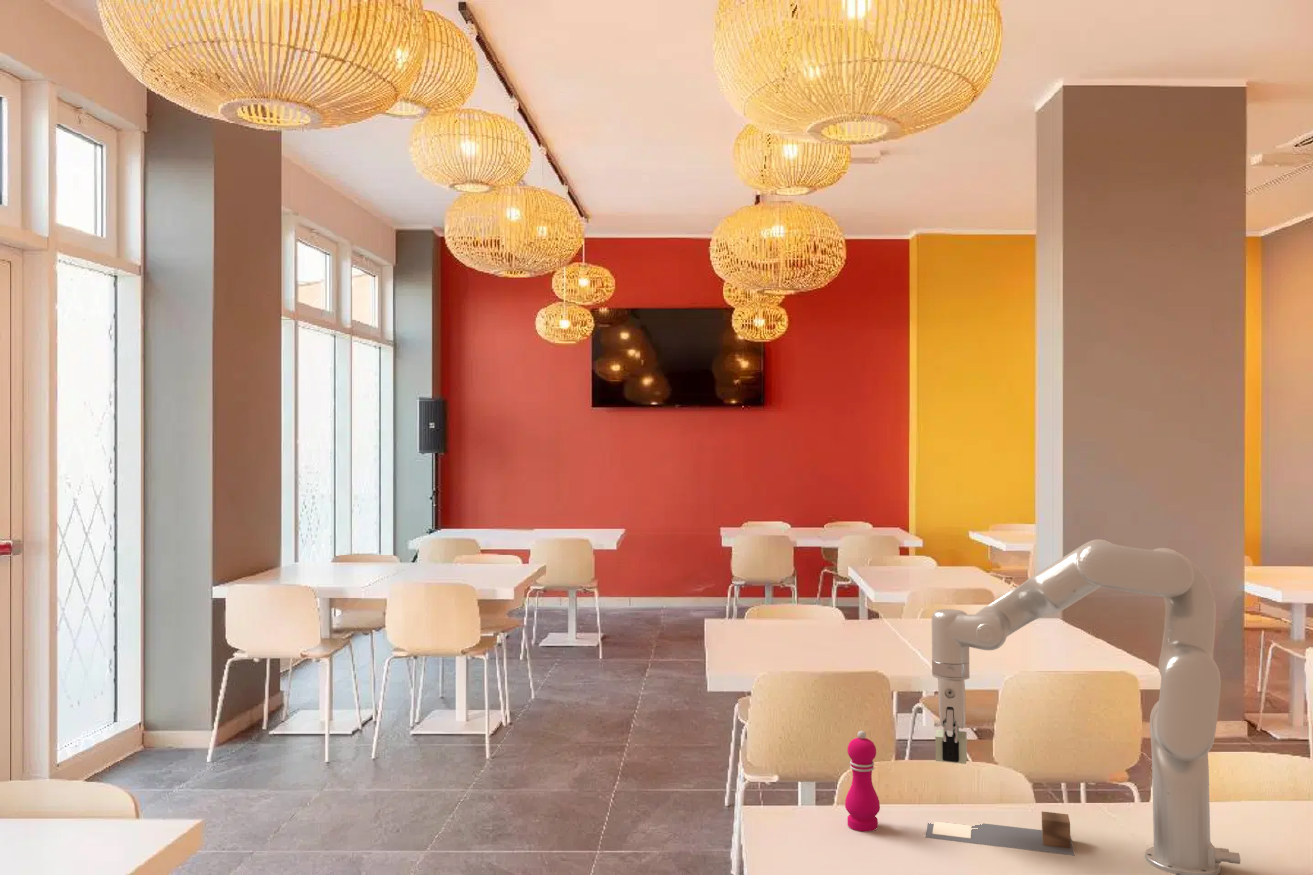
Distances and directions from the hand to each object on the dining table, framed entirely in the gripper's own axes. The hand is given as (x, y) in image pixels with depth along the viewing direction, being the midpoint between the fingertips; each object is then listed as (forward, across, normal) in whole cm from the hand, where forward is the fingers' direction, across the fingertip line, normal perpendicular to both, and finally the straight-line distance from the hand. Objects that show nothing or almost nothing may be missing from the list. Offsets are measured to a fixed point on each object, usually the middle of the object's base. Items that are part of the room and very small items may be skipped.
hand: (951, 755), depth 197 cm
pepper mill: (+16, -3, +18) cm, 24 cm away
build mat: (+16, 0, -9) cm, 18 cm away
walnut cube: (+15, 0, -20) cm, 25 cm away
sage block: (+1, 0, 0) cm, 1 cm away
